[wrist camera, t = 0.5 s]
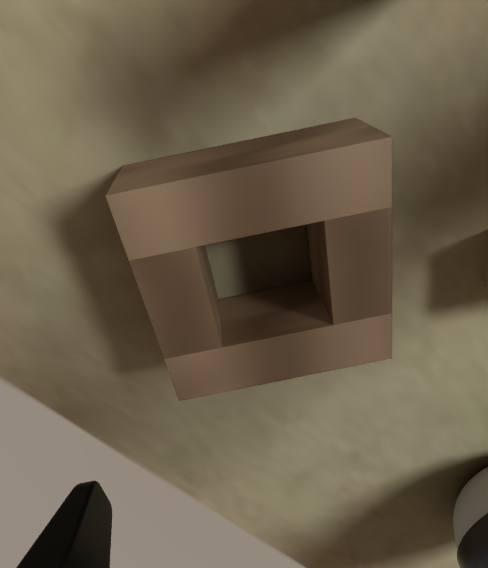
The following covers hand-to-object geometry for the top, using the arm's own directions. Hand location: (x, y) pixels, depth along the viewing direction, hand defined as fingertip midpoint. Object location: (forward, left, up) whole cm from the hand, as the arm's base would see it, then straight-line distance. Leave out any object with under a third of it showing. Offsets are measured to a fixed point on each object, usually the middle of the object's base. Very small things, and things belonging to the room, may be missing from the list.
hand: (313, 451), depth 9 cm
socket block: (0, +1, -11) cm, 11 cm away
